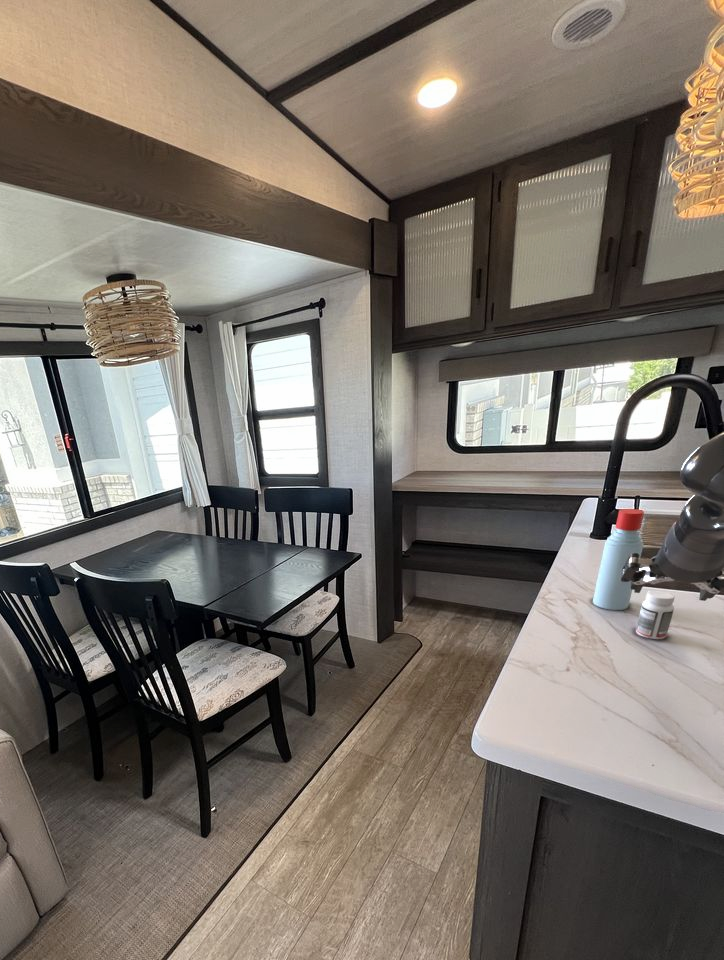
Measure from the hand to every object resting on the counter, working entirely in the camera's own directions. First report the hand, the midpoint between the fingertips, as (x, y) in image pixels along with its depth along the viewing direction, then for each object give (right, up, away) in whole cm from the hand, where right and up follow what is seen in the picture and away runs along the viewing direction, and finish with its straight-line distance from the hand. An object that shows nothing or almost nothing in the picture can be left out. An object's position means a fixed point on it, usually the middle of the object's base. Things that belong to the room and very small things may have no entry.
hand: (668, 591), depth 78 cm
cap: (+6, +13, +17) cm, 22 cm away
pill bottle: (+6, -8, +11) cm, 15 cm away
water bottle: (+7, -2, +24) cm, 25 cm away
